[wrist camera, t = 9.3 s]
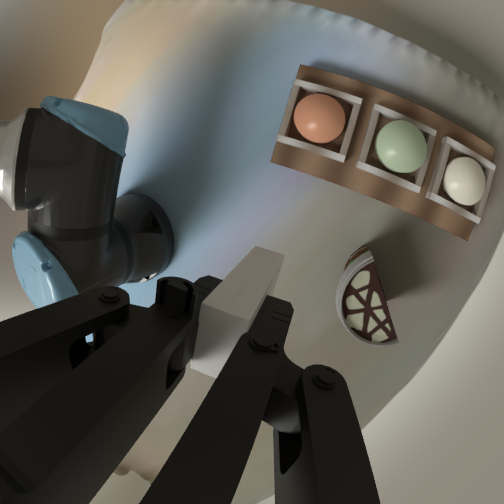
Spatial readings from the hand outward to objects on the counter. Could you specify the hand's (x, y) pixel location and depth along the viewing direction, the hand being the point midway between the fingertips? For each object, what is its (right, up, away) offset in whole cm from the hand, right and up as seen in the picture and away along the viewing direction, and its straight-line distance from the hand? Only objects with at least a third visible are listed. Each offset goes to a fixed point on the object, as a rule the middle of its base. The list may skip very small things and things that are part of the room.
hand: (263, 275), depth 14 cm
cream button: (+26, +10, +14) cm, 32 cm away
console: (+18, +15, +19) cm, 30 cm away
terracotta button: (+8, +17, +17) cm, 26 cm away
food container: (+15, -3, +25) cm, 29 cm away
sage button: (+17, +13, +14) cm, 26 cm away
